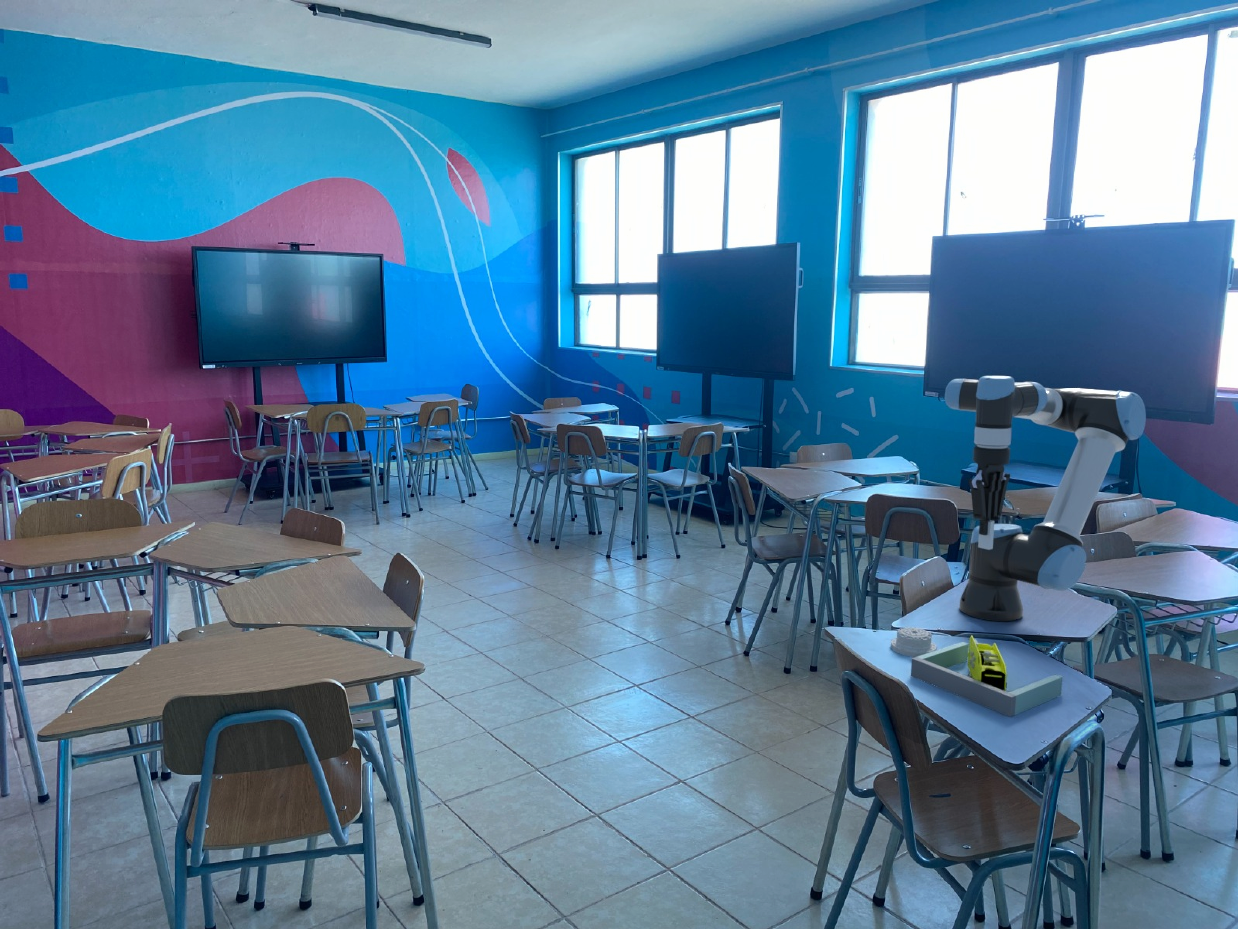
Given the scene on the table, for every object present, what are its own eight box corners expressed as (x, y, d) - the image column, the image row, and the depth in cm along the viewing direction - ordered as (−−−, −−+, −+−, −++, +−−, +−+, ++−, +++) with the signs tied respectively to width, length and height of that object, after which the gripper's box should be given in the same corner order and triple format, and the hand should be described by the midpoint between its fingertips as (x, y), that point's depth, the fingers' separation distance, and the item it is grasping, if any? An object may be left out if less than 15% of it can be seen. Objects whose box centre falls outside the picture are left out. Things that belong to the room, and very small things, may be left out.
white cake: (941, 659, 195) (930, 643, 205) (942, 640, 194) (931, 625, 204) (895, 657, 196) (886, 641, 206) (896, 639, 195) (887, 623, 205)
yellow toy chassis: (965, 668, 190) (967, 632, 188) (992, 671, 188) (995, 634, 187) (975, 699, 174) (978, 659, 173) (1006, 702, 173) (1009, 662, 172)
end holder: (961, 658, 194) (962, 641, 194) (1060, 695, 176) (1062, 677, 175) (910, 676, 185) (911, 658, 184) (1010, 717, 166) (1011, 697, 165)
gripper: (992, 440, 200) (986, 539, 204) (959, 446, 193) (953, 549, 197) (1023, 444, 194) (1016, 546, 198) (990, 450, 187) (984, 556, 191)
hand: (985, 547), depth 197 cm, fingers closed
